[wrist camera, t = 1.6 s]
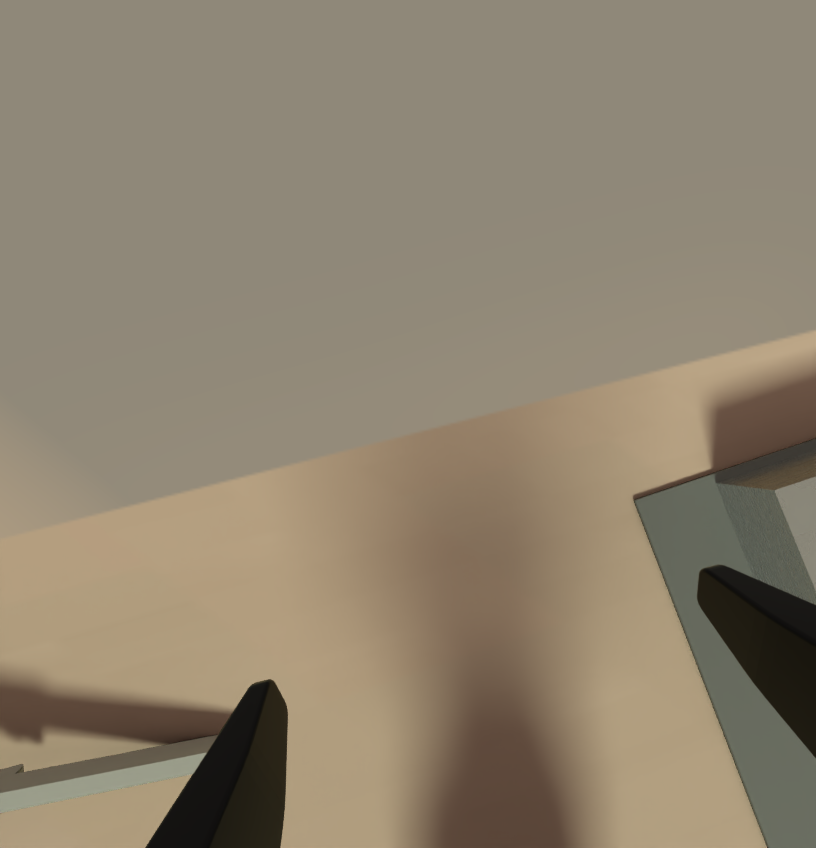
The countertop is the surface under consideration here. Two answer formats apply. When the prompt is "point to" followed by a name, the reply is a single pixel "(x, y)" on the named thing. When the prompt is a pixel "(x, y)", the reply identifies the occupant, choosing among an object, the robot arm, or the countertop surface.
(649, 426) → the countertop surface
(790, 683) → the robot arm
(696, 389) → the countertop surface
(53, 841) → the countertop surface
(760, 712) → the mat
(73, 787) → the caliper
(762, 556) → the square peg hole block
